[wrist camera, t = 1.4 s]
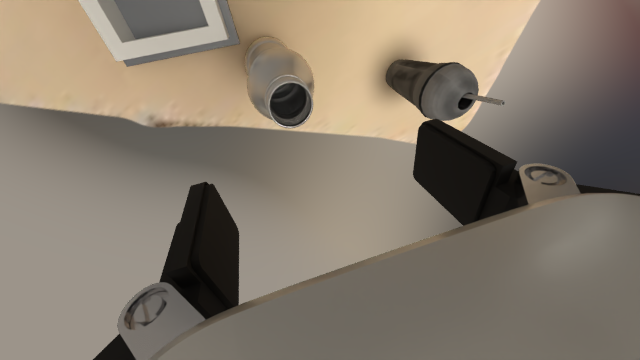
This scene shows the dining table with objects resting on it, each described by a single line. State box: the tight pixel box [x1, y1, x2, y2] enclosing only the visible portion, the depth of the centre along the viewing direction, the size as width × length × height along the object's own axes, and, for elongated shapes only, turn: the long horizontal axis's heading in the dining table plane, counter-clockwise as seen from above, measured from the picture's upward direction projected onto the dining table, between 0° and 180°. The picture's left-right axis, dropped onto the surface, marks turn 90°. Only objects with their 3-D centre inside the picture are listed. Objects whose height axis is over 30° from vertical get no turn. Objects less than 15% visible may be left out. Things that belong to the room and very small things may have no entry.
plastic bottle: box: [245, 37, 314, 128], centre depth 26 cm, size 6×7×20 cm
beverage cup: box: [386, 60, 505, 121], centre depth 32 cm, size 7×7×20 cm
